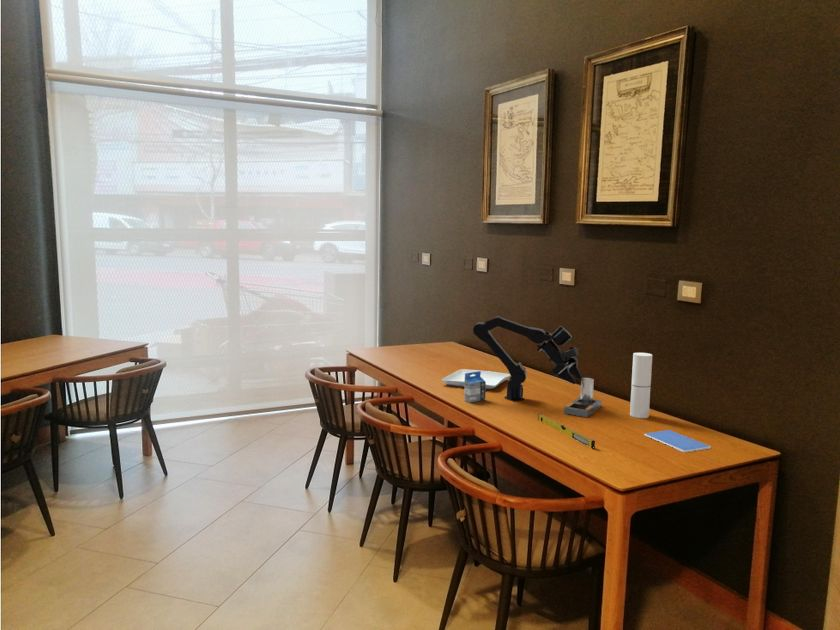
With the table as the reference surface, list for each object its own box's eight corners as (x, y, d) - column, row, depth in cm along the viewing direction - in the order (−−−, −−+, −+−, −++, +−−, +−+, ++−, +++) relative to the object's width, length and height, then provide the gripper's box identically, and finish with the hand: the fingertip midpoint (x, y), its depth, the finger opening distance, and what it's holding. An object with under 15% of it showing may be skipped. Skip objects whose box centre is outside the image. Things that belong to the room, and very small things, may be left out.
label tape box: (469, 403, 264) (470, 374, 263) (463, 401, 268) (464, 373, 266) (485, 400, 269) (486, 372, 268) (479, 398, 273) (480, 370, 271)
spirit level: (538, 421, 240) (538, 413, 240) (541, 421, 241) (541, 413, 240) (591, 449, 209) (591, 440, 209) (594, 449, 210) (595, 440, 210)
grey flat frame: (586, 417, 245) (587, 410, 245) (563, 413, 250) (563, 407, 250) (601, 406, 262) (601, 399, 262) (579, 402, 267) (579, 396, 267)
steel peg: (586, 409, 257) (587, 381, 255) (577, 406, 261) (578, 378, 259) (595, 407, 259) (596, 379, 258) (586, 404, 263) (587, 377, 262)
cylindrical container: (636, 418, 244) (640, 356, 241) (626, 413, 251) (629, 352, 248) (652, 417, 246) (656, 355, 243) (641, 412, 253) (645, 352, 250)
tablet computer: (712, 449, 211) (712, 446, 211) (684, 454, 206) (684, 450, 206) (669, 432, 229) (669, 429, 229) (642, 436, 224) (642, 433, 224)
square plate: (512, 380, 308) (512, 373, 307) (495, 393, 283) (495, 384, 282) (461, 375, 319) (461, 367, 318) (440, 386, 294) (440, 378, 294)
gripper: (560, 344, 253) (586, 373, 249) (574, 337, 269) (598, 365, 265) (541, 361, 258) (566, 390, 254) (556, 353, 274) (579, 381, 270)
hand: (578, 381), depth 261 cm, fingers open, 9 cm apart
